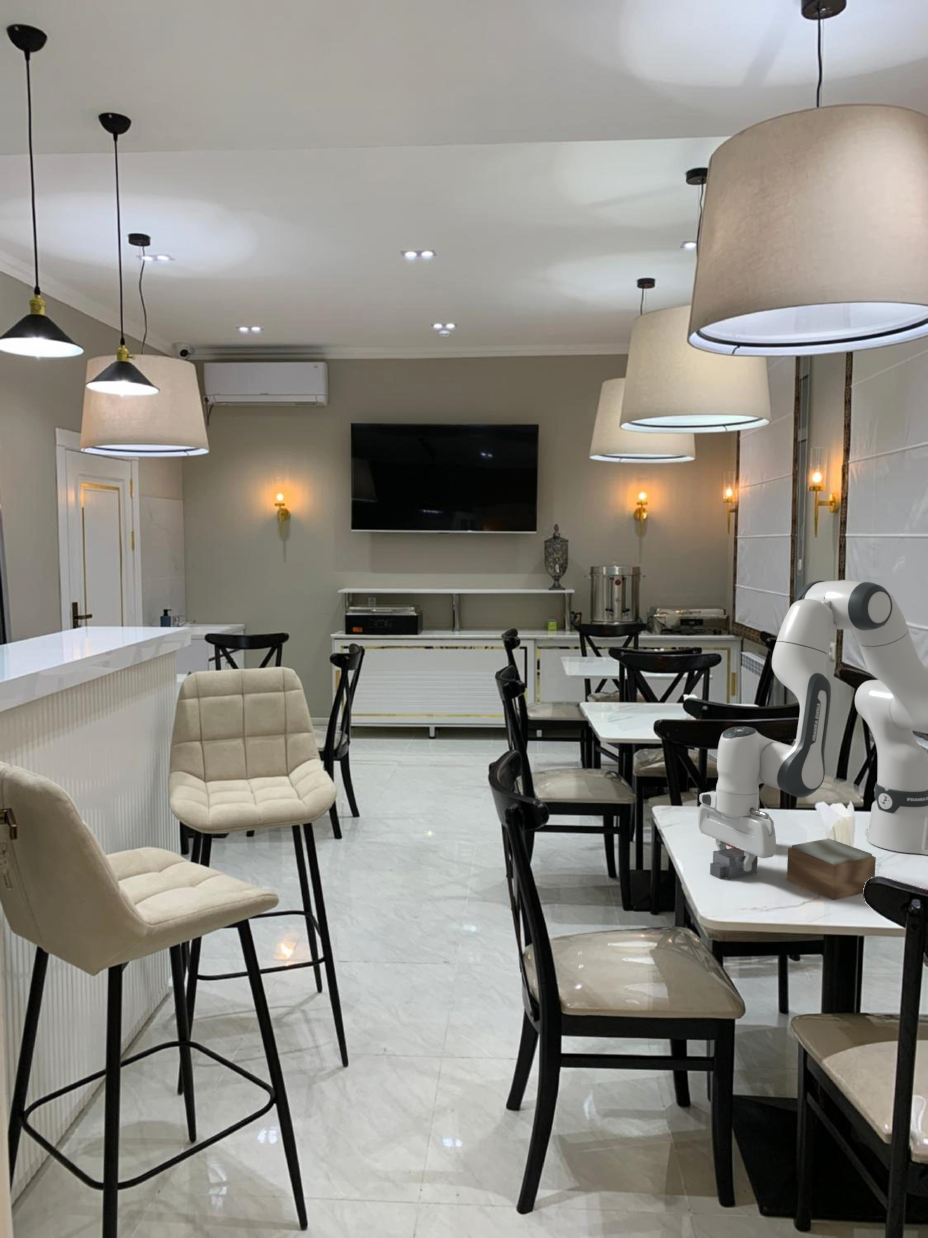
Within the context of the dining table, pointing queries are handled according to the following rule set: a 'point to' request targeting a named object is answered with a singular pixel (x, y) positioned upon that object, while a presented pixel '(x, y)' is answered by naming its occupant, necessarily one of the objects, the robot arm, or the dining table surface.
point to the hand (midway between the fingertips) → (735, 865)
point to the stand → (830, 868)
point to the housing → (730, 864)
